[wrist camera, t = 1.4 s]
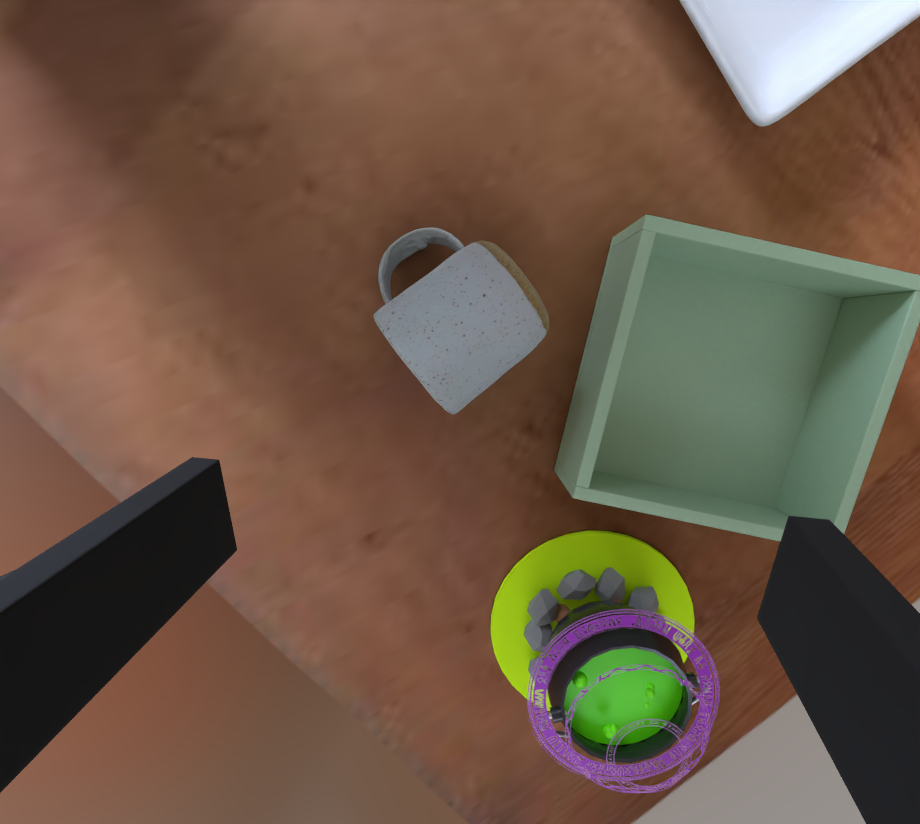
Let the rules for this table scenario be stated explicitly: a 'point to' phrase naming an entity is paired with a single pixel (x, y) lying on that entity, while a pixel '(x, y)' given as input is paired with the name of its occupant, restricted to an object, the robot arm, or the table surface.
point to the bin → (734, 379)
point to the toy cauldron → (604, 652)
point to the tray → (791, 44)
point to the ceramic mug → (460, 316)
